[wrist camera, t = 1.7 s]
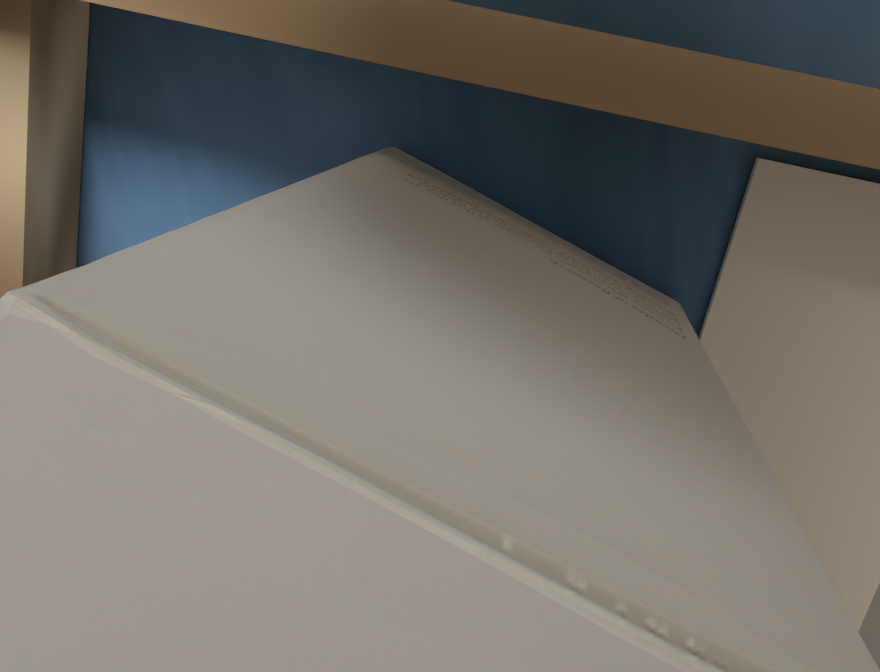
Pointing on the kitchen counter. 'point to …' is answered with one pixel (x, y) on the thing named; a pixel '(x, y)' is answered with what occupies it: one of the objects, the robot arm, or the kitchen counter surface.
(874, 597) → the robot arm
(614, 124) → the kitchen counter surface
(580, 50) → the bay
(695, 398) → the supplement box
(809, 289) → the front mat
